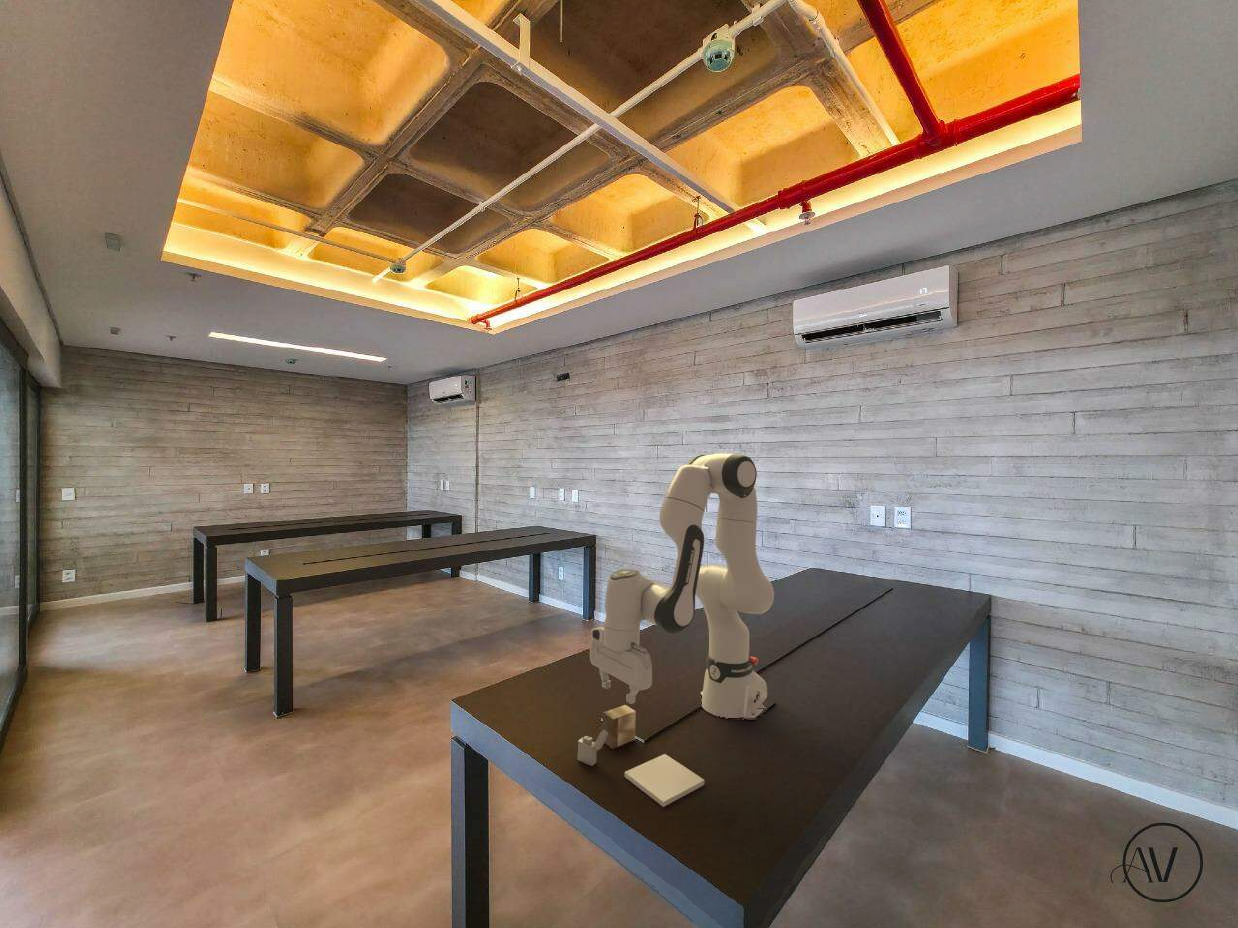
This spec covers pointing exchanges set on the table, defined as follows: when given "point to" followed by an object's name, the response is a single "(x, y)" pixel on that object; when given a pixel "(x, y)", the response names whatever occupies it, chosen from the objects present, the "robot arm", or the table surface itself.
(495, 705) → the table surface
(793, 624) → the table surface
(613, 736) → the block
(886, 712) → the table surface
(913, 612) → the table surface
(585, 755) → the lighter
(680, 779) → the tile
